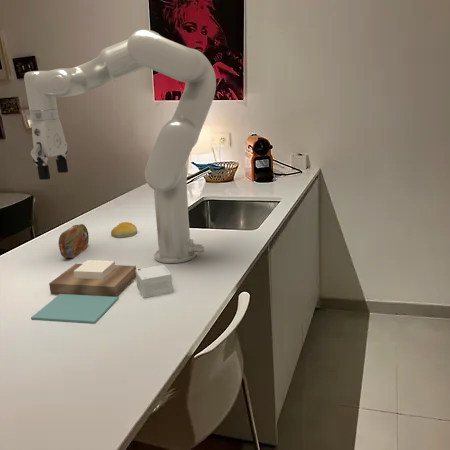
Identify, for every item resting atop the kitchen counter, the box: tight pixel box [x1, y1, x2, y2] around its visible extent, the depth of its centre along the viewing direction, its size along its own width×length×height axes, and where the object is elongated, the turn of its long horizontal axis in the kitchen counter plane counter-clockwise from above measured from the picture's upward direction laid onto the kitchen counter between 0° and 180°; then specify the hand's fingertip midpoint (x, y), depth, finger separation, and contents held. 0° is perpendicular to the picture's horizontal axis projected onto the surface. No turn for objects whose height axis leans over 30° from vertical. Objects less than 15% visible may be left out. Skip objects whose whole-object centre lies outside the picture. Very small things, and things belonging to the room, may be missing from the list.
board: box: [48, 263, 137, 297], centre depth 136 cm, size 18×14×3 cm
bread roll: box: [110, 221, 138, 239], centre depth 178 cm, size 8×9×4 cm
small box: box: [135, 264, 174, 299], centre depth 131 cm, size 8×8×5 cm
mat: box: [31, 294, 119, 324], centre depth 123 cm, size 16×13×1 cm
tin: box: [58, 223, 90, 259], centre depth 161 cm, size 15×3×8 cm, turn 168°
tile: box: [74, 259, 116, 279], centre depth 137 cm, size 8×8×2 cm
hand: (54, 175), depth 151 cm, fingers open, 9 cm apart
